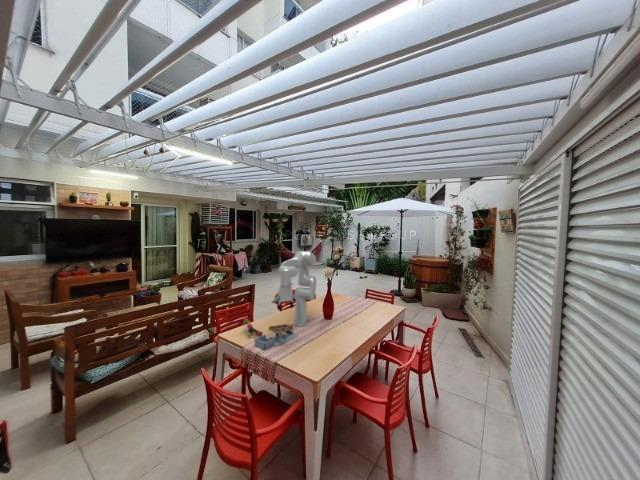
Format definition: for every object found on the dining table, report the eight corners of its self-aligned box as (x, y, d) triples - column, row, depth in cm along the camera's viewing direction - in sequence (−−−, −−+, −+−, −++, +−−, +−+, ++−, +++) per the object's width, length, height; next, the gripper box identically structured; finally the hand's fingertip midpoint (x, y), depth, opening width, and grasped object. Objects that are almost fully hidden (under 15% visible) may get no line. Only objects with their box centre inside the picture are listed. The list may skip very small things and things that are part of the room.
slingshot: (259, 328, 206) (266, 329, 194) (252, 340, 201) (258, 341, 189) (243, 317, 201) (249, 317, 189) (235, 328, 196) (241, 329, 184)
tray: (264, 340, 185) (265, 334, 184) (274, 345, 178) (274, 338, 178) (254, 345, 178) (254, 338, 177) (264, 350, 171) (264, 343, 171)
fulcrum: (286, 331, 201) (286, 321, 201) (297, 336, 194) (297, 325, 193) (265, 340, 185) (265, 329, 184) (276, 346, 177) (276, 334, 177)
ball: (288, 326, 198) (289, 322, 198) (291, 328, 196) (292, 323, 196) (284, 326, 195) (285, 322, 195) (288, 328, 193) (289, 323, 193)
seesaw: (287, 327, 199) (287, 323, 200) (301, 333, 190) (302, 328, 190) (268, 329, 184) (268, 325, 184) (282, 336, 174) (283, 331, 175)
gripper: (294, 283, 187) (294, 305, 189) (272, 285, 179) (272, 308, 180) (298, 285, 181) (298, 308, 182) (276, 287, 172) (275, 312, 173)
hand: (285, 308), depth 181 cm, fingers open, 9 cm apart
